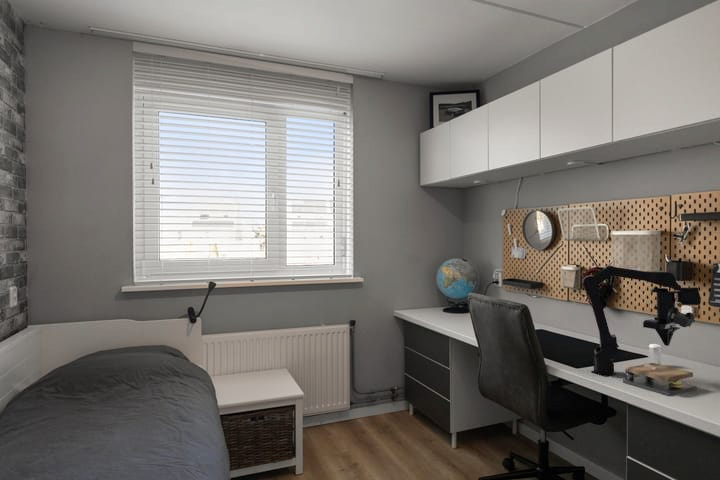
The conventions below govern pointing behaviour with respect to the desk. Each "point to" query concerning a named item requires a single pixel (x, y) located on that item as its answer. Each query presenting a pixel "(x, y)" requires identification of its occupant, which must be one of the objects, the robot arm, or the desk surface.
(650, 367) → the top plate
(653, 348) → the milkshake
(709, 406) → the desk surface
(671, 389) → the base
